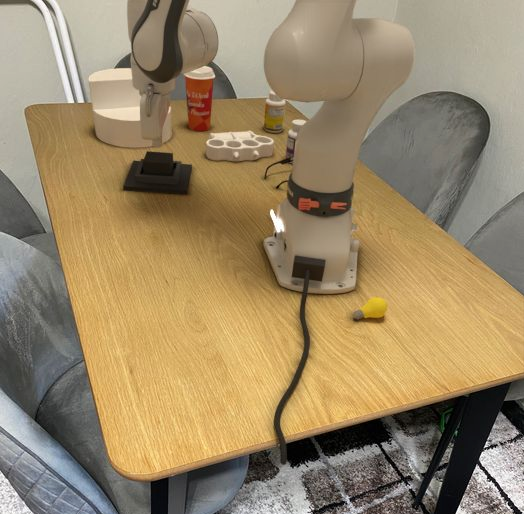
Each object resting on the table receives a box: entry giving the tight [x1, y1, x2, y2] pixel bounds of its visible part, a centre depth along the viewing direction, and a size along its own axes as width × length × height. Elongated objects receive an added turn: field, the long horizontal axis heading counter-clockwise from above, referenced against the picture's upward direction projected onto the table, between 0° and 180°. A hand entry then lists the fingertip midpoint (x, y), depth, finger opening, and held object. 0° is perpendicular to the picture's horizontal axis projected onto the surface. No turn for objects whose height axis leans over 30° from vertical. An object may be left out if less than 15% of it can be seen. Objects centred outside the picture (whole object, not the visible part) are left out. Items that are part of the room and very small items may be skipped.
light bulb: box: [352, 296, 388, 320], centre depth 87 cm, size 3×6×4 cm, turn 110°
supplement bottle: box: [263, 90, 287, 134], centre depth 146 cm, size 6×6×10 cm
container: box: [88, 67, 173, 149], centre depth 135 cm, size 20×20×13 cm
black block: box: [143, 150, 174, 176], centre depth 119 cm, size 6×6×4 cm
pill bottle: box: [284, 119, 308, 165], centre depth 132 cm, size 5×5×10 cm
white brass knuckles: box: [205, 130, 275, 163], centre depth 135 cm, size 3×18×15 cm
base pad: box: [122, 158, 193, 195], centre depth 120 cm, size 14×14×2 cm
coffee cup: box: [183, 65, 216, 132], centre depth 142 cm, size 8×8×15 cm
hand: (157, 145), depth 116 cm, fingers closed
